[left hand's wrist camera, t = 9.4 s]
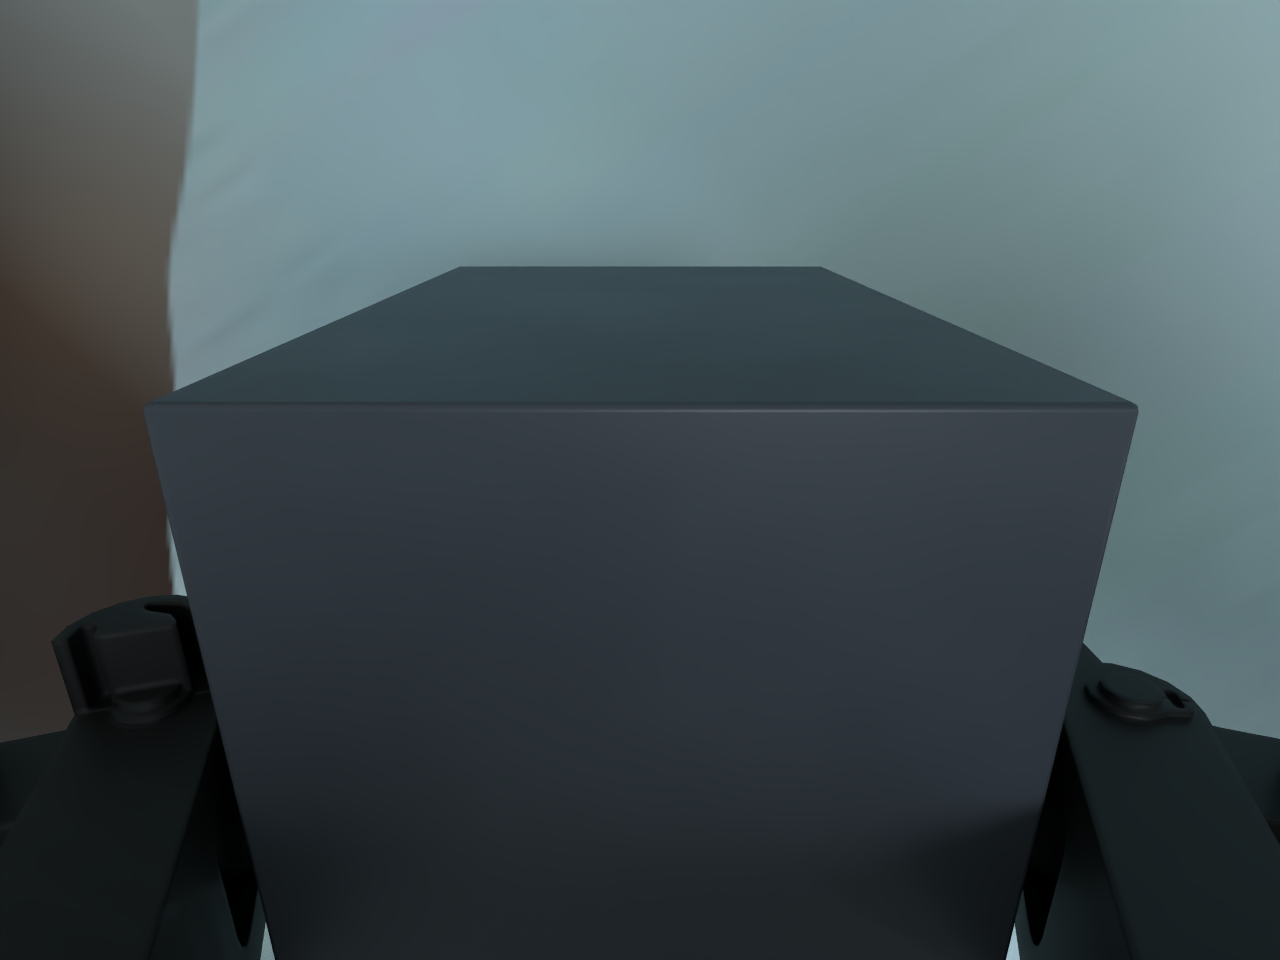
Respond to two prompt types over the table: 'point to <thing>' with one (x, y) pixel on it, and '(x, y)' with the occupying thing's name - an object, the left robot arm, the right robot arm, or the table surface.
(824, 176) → the table surface
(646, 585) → the box
